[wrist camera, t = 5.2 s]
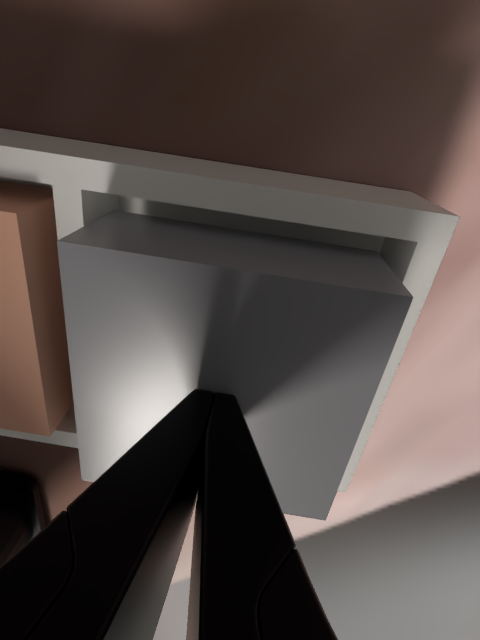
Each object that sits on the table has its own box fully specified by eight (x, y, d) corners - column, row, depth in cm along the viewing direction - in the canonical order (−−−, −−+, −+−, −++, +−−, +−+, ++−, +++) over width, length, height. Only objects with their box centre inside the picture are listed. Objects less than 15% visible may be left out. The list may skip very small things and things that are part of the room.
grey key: (315, 442, 11) (325, 520, 9) (119, 410, 11) (82, 480, 9) (377, 251, 8) (413, 296, 6) (114, 210, 8) (56, 241, 6)
